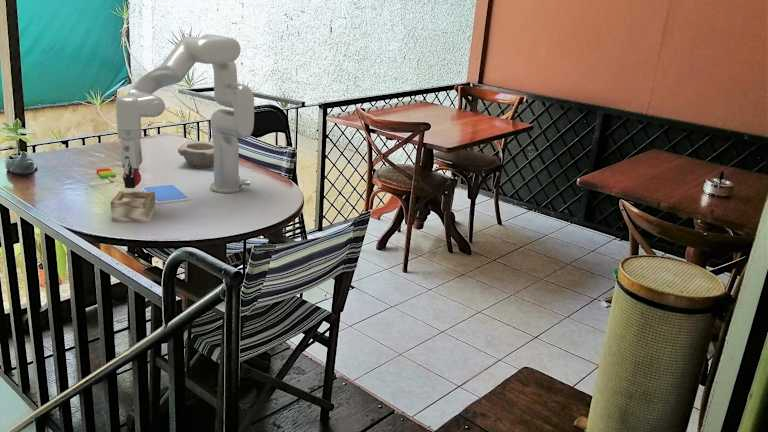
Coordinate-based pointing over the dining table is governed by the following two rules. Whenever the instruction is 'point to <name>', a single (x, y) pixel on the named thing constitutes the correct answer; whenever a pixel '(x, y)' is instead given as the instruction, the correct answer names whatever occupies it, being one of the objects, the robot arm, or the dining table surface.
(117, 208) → the wooden box
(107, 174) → the popsicle
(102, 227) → the dining table surface
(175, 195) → the tablet computer
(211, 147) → the mortar
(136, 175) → the onion
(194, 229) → the dining table surface
